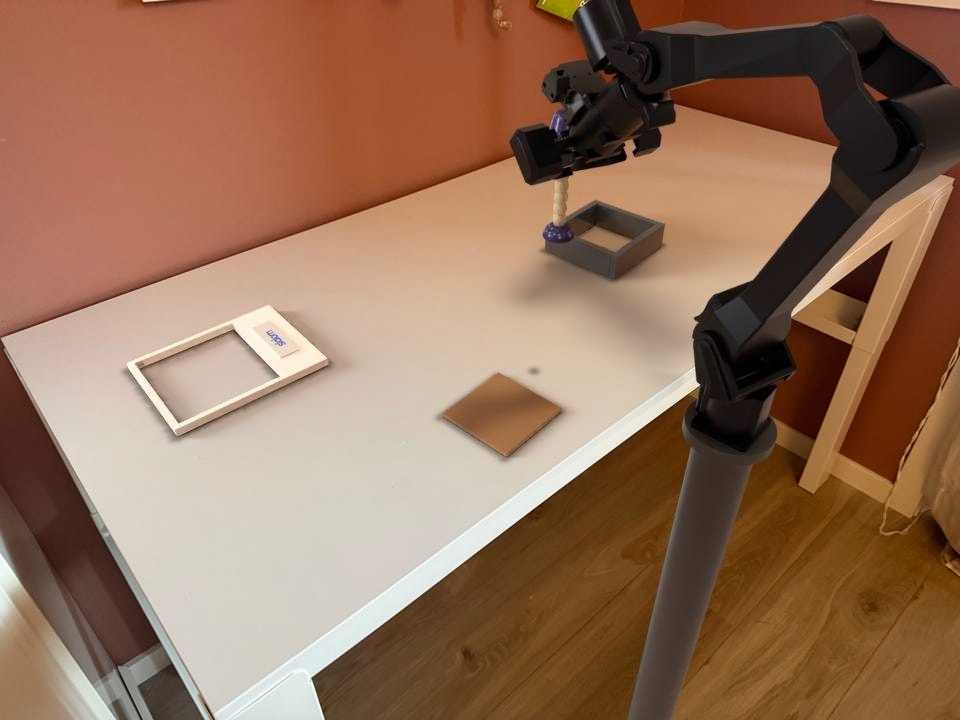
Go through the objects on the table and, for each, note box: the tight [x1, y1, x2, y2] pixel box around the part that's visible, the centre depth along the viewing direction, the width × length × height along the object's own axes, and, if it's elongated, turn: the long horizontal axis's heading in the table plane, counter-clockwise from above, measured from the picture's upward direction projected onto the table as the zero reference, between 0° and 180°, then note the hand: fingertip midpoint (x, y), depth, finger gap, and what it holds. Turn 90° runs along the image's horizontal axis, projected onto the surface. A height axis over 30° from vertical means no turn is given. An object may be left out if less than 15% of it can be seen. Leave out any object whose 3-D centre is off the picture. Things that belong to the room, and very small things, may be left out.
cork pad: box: [442, 372, 563, 458], centre depth 76 cm, size 9×9×1 cm
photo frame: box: [126, 304, 329, 437], centre depth 83 cm, size 15×1×18 cm
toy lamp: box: [541, 107, 574, 243], centre depth 91 cm, size 5×5×17 cm
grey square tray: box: [544, 199, 666, 280], centre depth 102 cm, size 12×12×4 cm
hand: (557, 171), depth 92 cm, fingers closed on toy lamp, 4 cm apart
